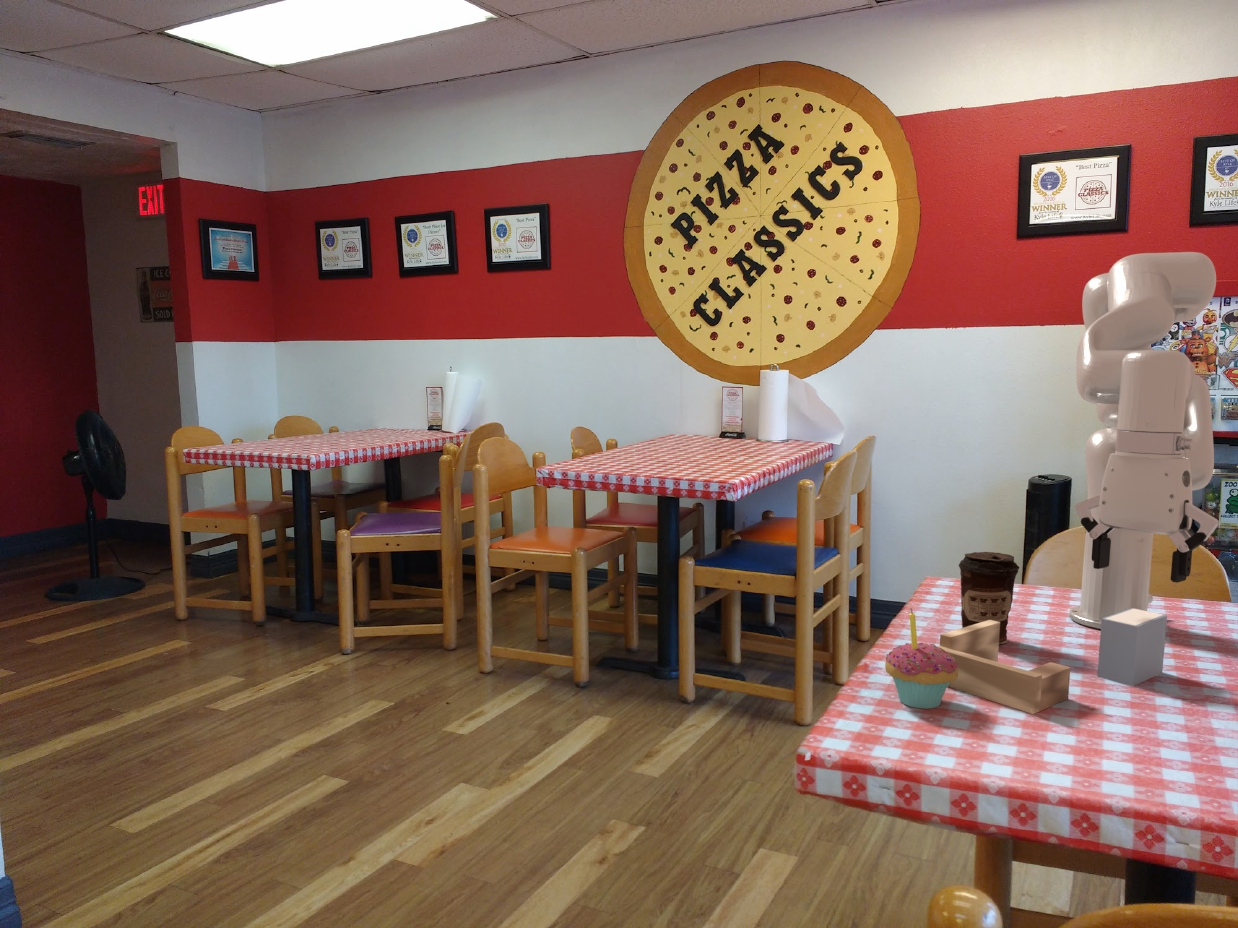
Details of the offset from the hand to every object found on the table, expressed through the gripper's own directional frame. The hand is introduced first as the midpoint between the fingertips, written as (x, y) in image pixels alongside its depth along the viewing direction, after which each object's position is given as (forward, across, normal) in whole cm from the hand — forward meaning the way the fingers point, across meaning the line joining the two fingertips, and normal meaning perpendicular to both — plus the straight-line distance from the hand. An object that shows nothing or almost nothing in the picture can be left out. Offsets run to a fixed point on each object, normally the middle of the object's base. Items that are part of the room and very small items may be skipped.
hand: (1138, 574), depth 122 cm
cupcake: (+15, +11, +31) cm, 36 cm away
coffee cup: (+14, +20, +1) cm, 25 cm away
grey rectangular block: (+14, 0, -1) cm, 14 cm away
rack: (+14, +8, +16) cm, 23 cm away
